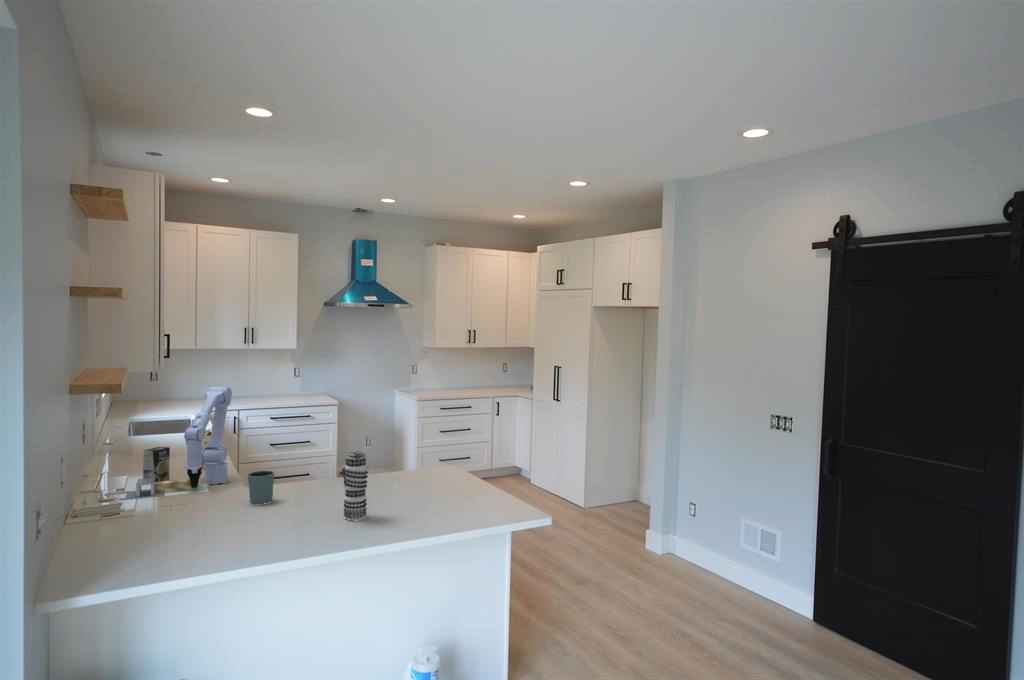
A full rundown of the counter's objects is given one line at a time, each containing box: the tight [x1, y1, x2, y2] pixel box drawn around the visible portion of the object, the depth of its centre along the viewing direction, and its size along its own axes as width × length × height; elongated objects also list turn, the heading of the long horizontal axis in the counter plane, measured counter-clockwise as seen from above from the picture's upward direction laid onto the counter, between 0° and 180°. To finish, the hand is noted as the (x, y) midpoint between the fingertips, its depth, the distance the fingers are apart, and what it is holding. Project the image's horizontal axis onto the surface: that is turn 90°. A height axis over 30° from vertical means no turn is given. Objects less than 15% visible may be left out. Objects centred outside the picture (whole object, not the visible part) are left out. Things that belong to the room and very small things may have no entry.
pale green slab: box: [103, 483, 209, 501], centre depth 258 cm, size 38×14×2 cm, turn 118°
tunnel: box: [135, 477, 155, 497], centre depth 256 cm, size 6×9×6 cm
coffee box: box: [142, 446, 171, 482], centre depth 276 cm, size 9×6×16 cm
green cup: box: [247, 470, 275, 505], centre depth 251 cm, size 10×10×12 cm
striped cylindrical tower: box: [343, 451, 369, 522], centre depth 234 cm, size 9×9×25 cm
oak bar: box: [154, 478, 195, 494], centre depth 261 cm, size 15×4×4 cm, turn 118°
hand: (194, 486), depth 264 cm, fingers closed on oak bar, 4 cm apart
